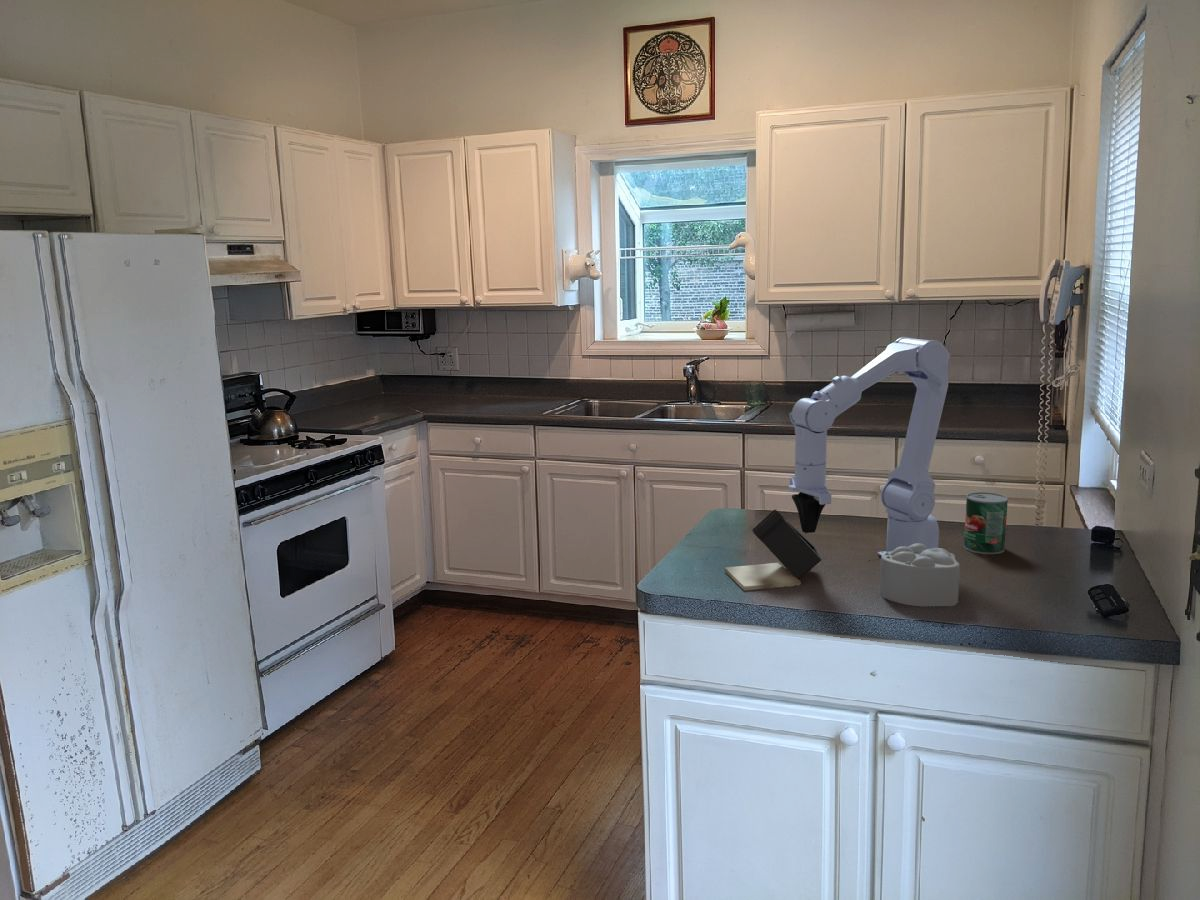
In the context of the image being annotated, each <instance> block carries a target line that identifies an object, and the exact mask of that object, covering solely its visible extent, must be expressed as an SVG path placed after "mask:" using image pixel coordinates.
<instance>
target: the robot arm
mask: <svg viewBox="0 0 1200 900" xmlns="http://www.w3.org/2000/svg"><path fill="white" fill-rule="evenodd" d="M950 358H951V353H950V352H949V351H948V349H947V348H946V346H945V345H944V344H943V343H942V342H941V341H939V340H936V339H931V340H929V339H921V338H920V339H919V338H912V337H909V336H901V337H899V338H897V339H896V340H895V341H894V342H892V343H890V344H888V345H887V346H886V347H885V350H883V351H882V352H881V353H880V354H878V355H877V356H876V357H875V358H873V359H872V360H871V361H870V362H868V363H867V364H866V365H864V366H863V367H862V368H861V369H859V370H858V371H857V372H855V373H854V374H852V376H849V375H841V376H839V375H836V376H835V377H833V378H831V382H830V383H829V384H828V385H826V386H824V387H823V388H821V389H820V390H819V391H817V390H815V391H814V392H812V395H811V396H810V398H809V397H803V398H800V399H799V400H797V401H796V402H795V403H794V405H793V407H792V409H791V412H789V413H788V414H789V420H790V422H791V424H793V426H794V434H795V439H794V441H795V445H794V446H795V447H794V448H795V449H794V451H795V452H794V476H789V485H788V490H789V491H791V492H798V493H796V494H795V493H794V494H792V495H791V499H792V501H793V503H794V505H795V507H796V509H797V513H798V517H799V521H800V527H801V530H802V532H803V533H804V534H808V533H809V534H813V533H815V532H816V530H817V526H818V523H819V520H820V516H821V513H822V512H823V510H824V508H825V506H826V505H831V504H832V493H831V492H830V491H829V488H828V486H827V484H826V480H827V479H826V478H827V477H826V476H827V473H826V472H827V445H828V444H827V441H828V430H829V429H831V427H832V426H833V424H834V422H835V419H836V418H837V417H838V416H840V415H841V414H842V413H844V412H845V411H847V410H848V409H850V408H851V407H852V406H854V405H855V404H856V403H858V402H859V401H860V400H861V399H862V392H863V391H865V390H866V389H868V388H870V387H871V386H873V385H875V384H877V383H878V382H881V381H882V380H883V379H885V378H887V377H889V376H890V375H892V374H893V373H896V372H902V373H903V374H904V375H906V376H908V378H909V379H910V380H911V382H912V383H913V384H914V386H915V387H916V392H915V395H914V400H913V401H914V402H913V405H912V410H911V413H910V418H909V422H908V427H907V431H906V435H905V439H904V444H903V449H902V452H901V457H900V461H899V465H898V466H897V467H895V468H894V469H893V470H891V471H890V472H889V474H888V477H887V480H886V481H885V484H884V485H883V487H882V489H881V491H880V501H881V504H882V505H883V506H884V507H885V510H886V511H885V513H886V514H887V524H886V526H887V527H886V550H885V551H877V555H878V556H880V557H881V556H882V555H883V554H885V553H887V552H890V551H893V550H894V549H896V548H897V547H901V546H904V547H909V546H910V545H912V544H915V543H920V544H924V545H925V546H926V547H927V548H928V549H932V548H939V540H940V538H939V537H940V528H939V527H940V526H939V523H938V520H937V519H936V518H935V517H934V516H933V515H932V513H933V511H934V509H935V505H936V498H935V497H936V496H935V488H936V483H935V482H934V479H933V478H932V476H931V474H930V473H929V469H930V465H931V460H932V456H933V452H934V449H935V448H934V447H935V444H936V440H937V439H936V438H937V435H938V430H939V427H940V423H941V422H940V421H941V418H942V413H943V408H944V405H945V400H946V396H947V394H948V393H947V392H948V388H949V383H950V382H949V374H948V368H949V367H948V366H949V364H950V363H949V362H950Z"/></svg>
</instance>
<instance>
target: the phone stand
mask: <svg viewBox="0 0 1200 900" xmlns="http://www.w3.org/2000/svg"><path fill="white" fill-rule="evenodd" d="M751 531H752V533H753V534H754V535H755V536H756V538H757V539H759V541H760V542H761V543H762V544H764V545H765V546H766V549H768V550H769V552H771V553H772V554H773V556H775V558H777V560H778V561H779V562H780V563H781V564H782V566H783V567H784V568H785V569H786V570H787V571H789V572H790V573H791V574H792V575H793V576H794V577H796V578H797V579H798V580H800V581H801V579H803V577H804V576H806V575H807V574H808V573H809V572H810V571H811V570H812V569H813V568H815V567H816V566H817V565H818V564H819V563H820V562H821V561H823V560H822V558H821V555H819V552H818V550H817V548H816V546H815V545H814V544H813V543H812V542H811V541H809V539H807V538H806V537H805V536H804V535H803V534H802V533H801V532H800V531H799V530H798V529H796V527H794V526H793V524H791V523H790V522H789V521H788V520H787V519H786V518H785V517H784V516H783V515H782V514H781V513H780V512H779V511H778V510H777V509H774V510H772V511H771V512H770V513H769V514H768V515H767V516H766V517H764V518H763V519H762V520H761V521H760V522H759V523H758V524H757V525H755V527H754V528H753V529H752V530H751Z"/></svg>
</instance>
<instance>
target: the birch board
mask: <svg viewBox="0 0 1200 900" xmlns="http://www.w3.org/2000/svg"><path fill="white" fill-rule="evenodd" d="M724 572H725V574H726V575H728V576H729V577H730V578H731V579H732V581H734V582H735V583H736V584H737V585H738V586H739V587H740V588H741V589H742V590H743V591H745V592H746V591H755V590H764V589H766V588H767V589H775V587H777V588H785V587H784V586H787V587H795V586H794V585H797V586H801V579H800V580H798V579H797V578H796V577H794V576H793V575H792V574H791V573H790V572H789V570H788V569H787V568H786V567H785V566H784V565H781V564H780V563H779V562H770V563H760V564H750V565H749V564H748V565H740V566H738V565H736V566H727V567H724Z"/></svg>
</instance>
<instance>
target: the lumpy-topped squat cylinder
mask: <svg viewBox="0 0 1200 900" xmlns="http://www.w3.org/2000/svg"><path fill="white" fill-rule="evenodd" d="M956 559H957V558H956V555H955V554H954V553H952V552H951V551H950V552H949V551H948V550H946V549H945V548H941V547H938V548H932V549H928V548H927V547H926V546H925V545H924V544H920V543H915V544H912V545H910V546H909V547H904V546H901V547H897V548H896V549H894V550H893V551H890V552H887V553H885V554H883V555H882V556H880V573H879V575H880V576H879V577H880V578H879V581H880V582H879V595H880V597H882V598H883V599H886V600H888V601H891V602H894V603H898V604H902V605H907V606H915V607H928V606H930V608H932V607H931V606H933V607H934V606H949V607H953V606H952V605H954V606H956V605H957V603H959V589H960V588H959V587H960V568H961V566H960V563H959V561H957V560H956ZM955 604H956V605H955ZM934 608H935V607H934Z"/></svg>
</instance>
